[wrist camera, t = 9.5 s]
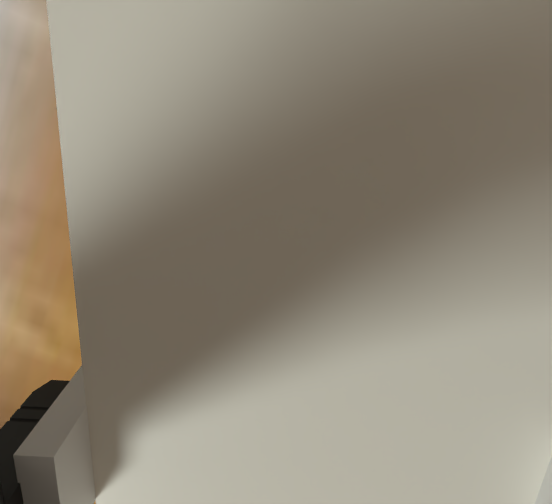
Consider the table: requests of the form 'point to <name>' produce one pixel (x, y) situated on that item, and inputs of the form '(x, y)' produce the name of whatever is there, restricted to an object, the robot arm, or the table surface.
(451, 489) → the lid
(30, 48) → the table surface
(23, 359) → the table surface
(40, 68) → the table surface
